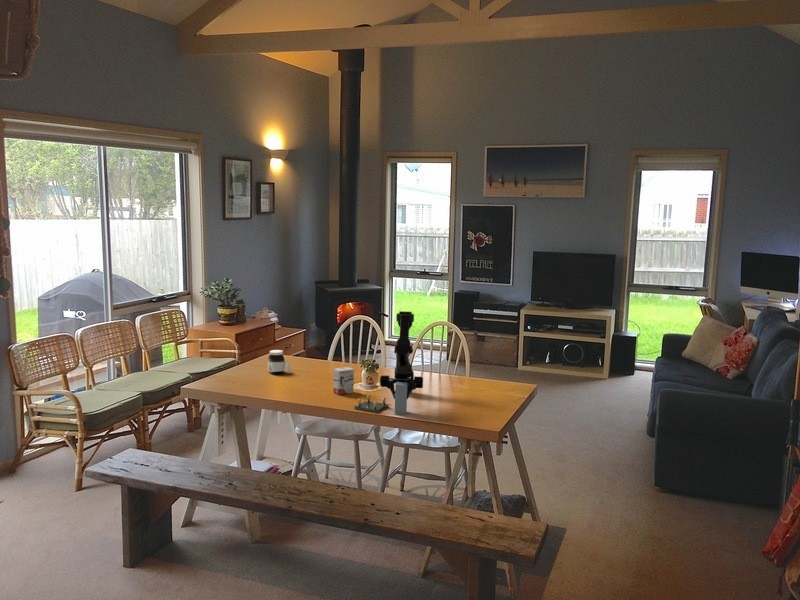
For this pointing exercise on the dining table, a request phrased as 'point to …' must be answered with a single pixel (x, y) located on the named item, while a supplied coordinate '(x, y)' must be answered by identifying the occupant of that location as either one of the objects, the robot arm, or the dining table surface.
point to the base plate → (371, 405)
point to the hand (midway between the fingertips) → (400, 398)
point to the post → (401, 398)
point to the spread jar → (277, 362)
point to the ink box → (343, 380)
